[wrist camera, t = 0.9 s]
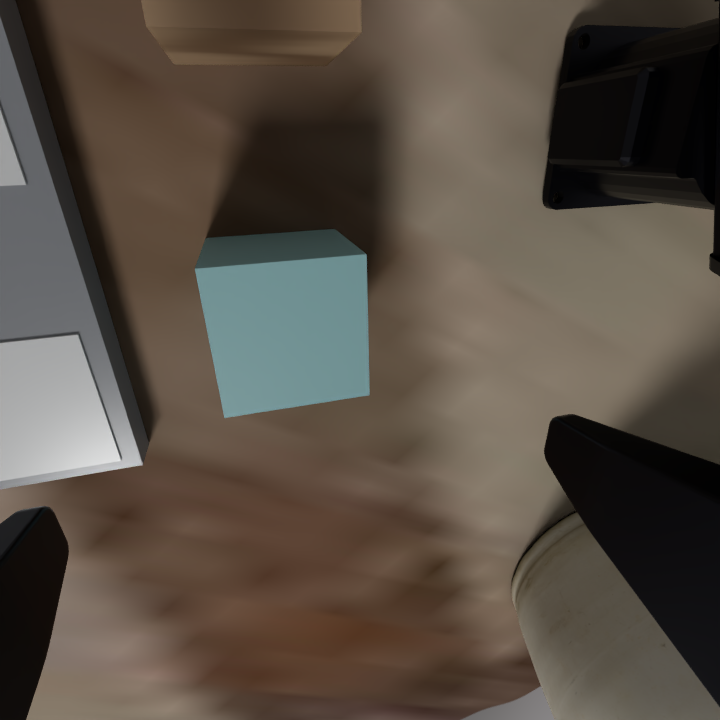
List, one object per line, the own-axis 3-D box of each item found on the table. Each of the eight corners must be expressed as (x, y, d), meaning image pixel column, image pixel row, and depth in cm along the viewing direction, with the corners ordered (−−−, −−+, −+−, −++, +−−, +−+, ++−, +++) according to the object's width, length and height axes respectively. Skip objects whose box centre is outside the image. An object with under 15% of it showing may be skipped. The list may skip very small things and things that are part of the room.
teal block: (334, 228, 18) (366, 254, 13) (340, 341, 20) (369, 395, 15) (206, 237, 16) (194, 269, 12) (227, 355, 19) (224, 418, 14)
